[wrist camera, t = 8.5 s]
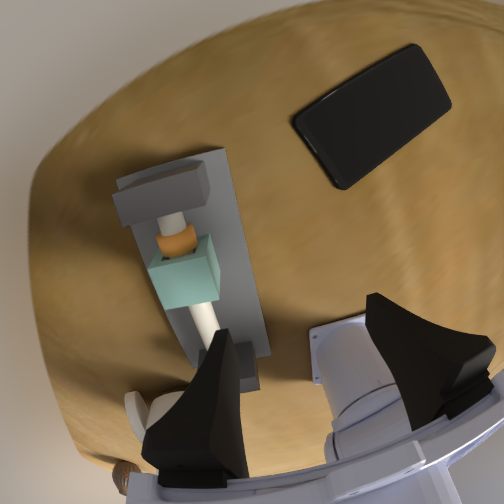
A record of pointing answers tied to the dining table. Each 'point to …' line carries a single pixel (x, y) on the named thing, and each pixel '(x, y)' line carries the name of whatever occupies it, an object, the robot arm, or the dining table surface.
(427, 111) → the smartphone
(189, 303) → the marker sleeve
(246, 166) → the dining table surface
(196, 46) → the dining table surface
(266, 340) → the rod and ring fixture
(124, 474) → the vase
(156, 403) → the spread jar
